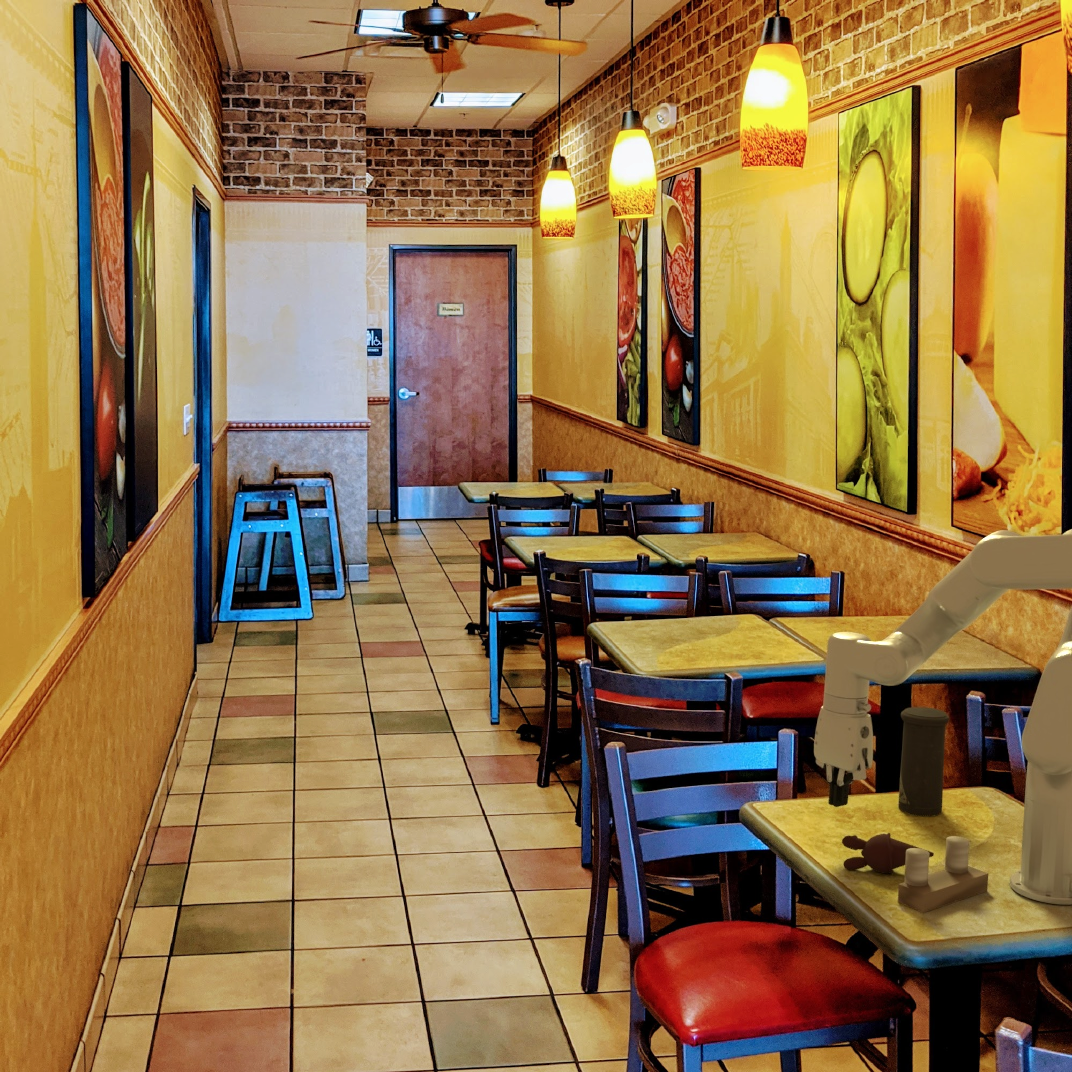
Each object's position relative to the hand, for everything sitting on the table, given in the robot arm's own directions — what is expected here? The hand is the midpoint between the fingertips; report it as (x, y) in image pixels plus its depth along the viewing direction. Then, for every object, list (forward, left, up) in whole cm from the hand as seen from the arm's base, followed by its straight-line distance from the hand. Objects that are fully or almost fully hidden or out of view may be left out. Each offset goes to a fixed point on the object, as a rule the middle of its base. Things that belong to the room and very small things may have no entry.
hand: (837, 804), depth 230 cm
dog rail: (-24, +1, -9) cm, 25 cm away
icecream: (-11, 0, -9) cm, 14 cm away
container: (+6, -30, -9) cm, 32 cm away
